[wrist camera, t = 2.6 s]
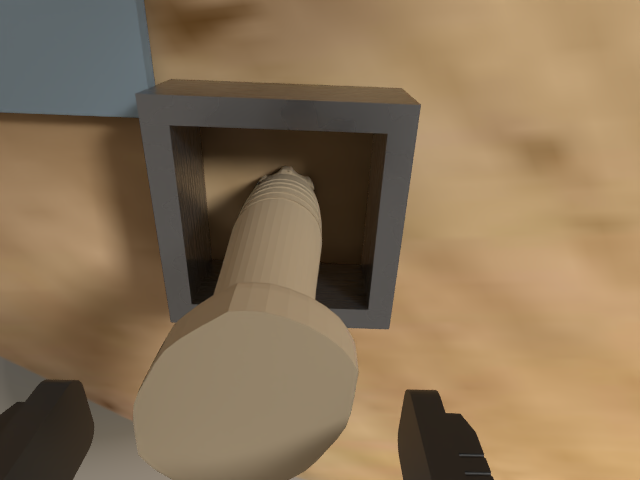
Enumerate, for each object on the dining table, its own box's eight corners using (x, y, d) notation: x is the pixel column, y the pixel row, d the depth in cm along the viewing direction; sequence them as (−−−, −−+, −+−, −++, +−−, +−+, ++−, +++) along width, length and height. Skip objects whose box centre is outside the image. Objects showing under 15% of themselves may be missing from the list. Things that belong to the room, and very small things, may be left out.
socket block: (170, 79, 21) (135, 93, 17) (402, 88, 21) (420, 104, 17) (193, 275, 26) (171, 322, 22) (378, 282, 26) (388, 329, 22)
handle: (222, 216, 24) (102, 456, 11) (276, 118, 22) (203, 276, 8) (295, 255, 25) (267, 513, 12) (354, 166, 23) (400, 370, 10)
